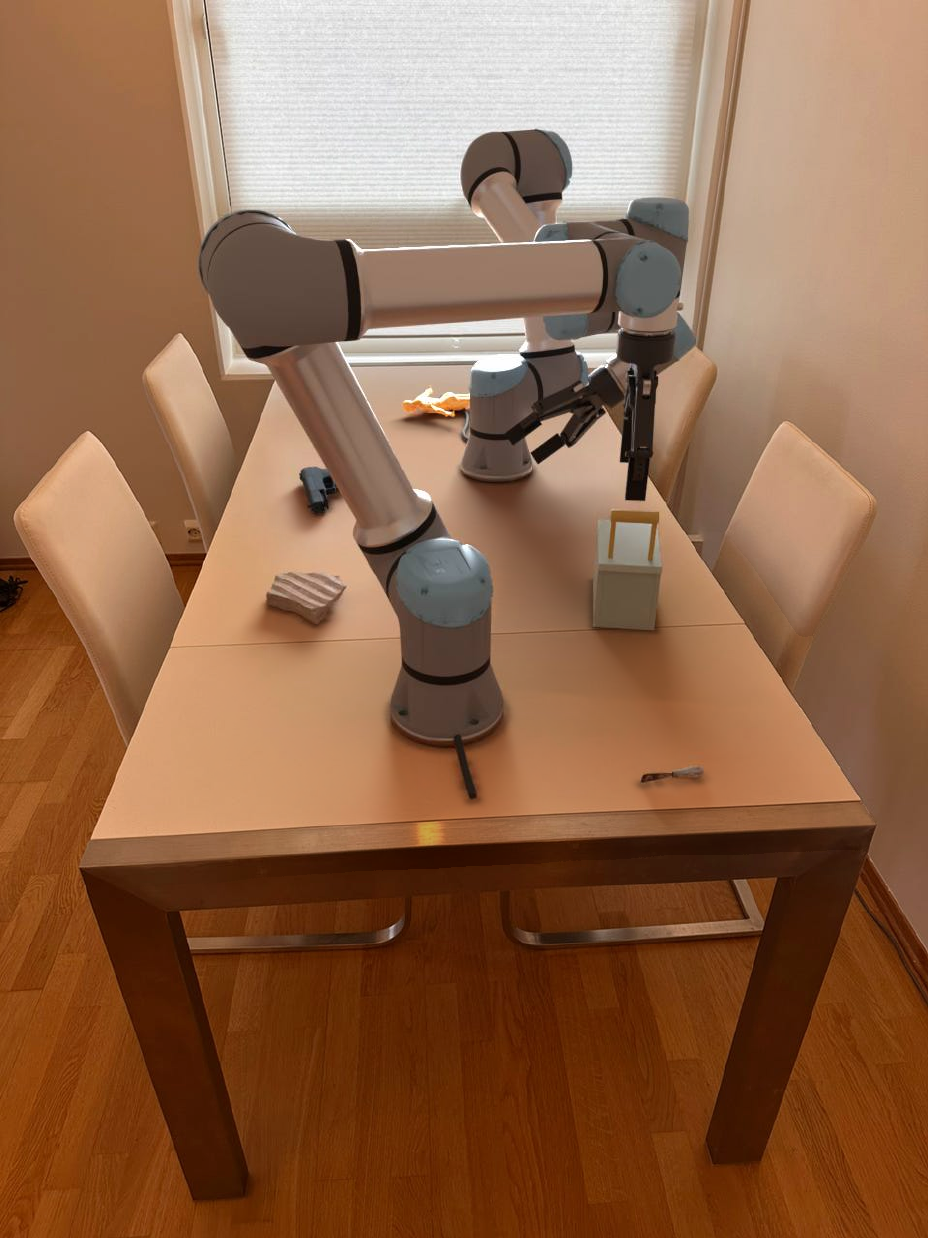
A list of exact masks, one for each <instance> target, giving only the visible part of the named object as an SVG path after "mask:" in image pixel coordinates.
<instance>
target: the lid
mask: <svg viewBox="0 0 928 1238" xmlns="http://www.w3.org/2000/svg"><path fill="white" fill-rule="evenodd" d="M659 522H660V511H657V510H656V511H655V510H637V509H636V510H635V509H634V510H633V509H613V508H611V509H610V516H609V519H602V518H599V519H598V521H597V530H598V570H599V571H615V572H633V573H652V574H661V575H662V574H663V568H664V565H663V560H662V559H663V558H662V552H661V544H660V538H659V537H660V536H659V530H658V525H659Z"/></svg>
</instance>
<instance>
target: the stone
mask: <svg viewBox="0 0 928 1238" xmlns="http://www.w3.org/2000/svg"><path fill="white" fill-rule="evenodd" d="M346 589H347V585H346V583H345V582H343V580H341V579H340V575H332V574H329V573H326V572H320V571H318V572H315V571H314V572H308V573H306V572H300V571H289V572H287V573H281V572H279V573H277V574H275V576H274V579H273V581H272V584H271V587H270V590H268V591H267V592H266V594H265V597H266V600H265V604H266V605H267V606H268V605H269V606H271V607H275V608H278V609H281V610H282V611H289V612H292V613H296V614H297V615H299V616H301V617H302V618H304V619H305V620H307V621H309V622H311V623H312V624H315V625H319V624H320V622H321V621H323V620H324V619H325V618H326V615H327V612H328V611H329V609H330V607H332V606H333V605H334V603H335V602H336V601H338V600H339V599H340V598H341V596H342V595H343V593H344V591H345V590H346Z"/></svg>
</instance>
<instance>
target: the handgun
mask: <svg viewBox="0 0 928 1238" xmlns="http://www.w3.org/2000/svg"><path fill="white" fill-rule="evenodd" d="M298 475H299V480H300V481H301V482H302V485H303V488H304V493H305V495H306V499H307V500H308V505H306V508H308V509H310V510H311V512H312V514H314V515H322V514H324V513H325V508H326V509H327V511H328V510H329V509H330V507H329V506H330V505H329V498H328V496H332V495H335V494H336V492H337V491H336V488H337V489H338V487H337V486H336V484H335V482H334V481H333V479H332V477H331V475H330V474H329V472H328V470H327V469H326V467H325V468H320V467H318V466H308V467H303V468H302V469H301V470H300V472H298Z"/></svg>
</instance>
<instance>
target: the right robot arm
mask: <svg viewBox="0 0 928 1238" xmlns="http://www.w3.org/2000/svg"><path fill="white" fill-rule="evenodd" d="M459 164H460V165H459V170H458V171H459V173H458V175H459V177H458V178H459V179H458V180H459V186H460V189H461V192H462V196H463V198H464V200H465V201H466V204H467V205H468V206H469V208H470V210H471V211H472V212H473V214H474V215H476V217H478V218H484V220H485V221H486V223H487V225H489V227H490V229H491V230H492V231H493V233H494V234H495V236H496V237H497V238H498V240H499V242H500V244H508V243H530V242H534V239H535V236H536V234H537V232H538V230H539V229H540V228H541V227H543V226H544V225H547V224H556V223H558V221H557V210H558V209H559V207H560V206H561V205H562V203H563V200H564V199H563V192H565V191H566V190H567V189H568V187H569V186H570V184H571V181H570V179H572V177H573V159H572V155H571V151H570V148H569V146H568V145H567V143H566V141H565V140H564V139H563V137H561V135H560V134H558V133H557V132H556V131H553V130H550V129H538V128H534V129H521V130H520V129H519V130H508V131H489V132H485V133H483V134H481V135H479V136H478V137H476V138H475V139H473V140H472V141H471V142H470V144H469V145H468V146H467V147H466V149H465V150H464V152H463V155H462V157H461V161H460V163H459ZM677 314H678V317H677V325H676V327H675V328H674V329H672V330H673V331H674V333H675V334H676V337H675V346H674V354H673V358H672V360H671V361H669V362H668V363H665V364H659V365H656V366H655V367H654V370H655V371H657V375H656V376H659V374H661V373H662V372H664V371H665V370H667V369H668V368H670V367H671V366H672V365H674V364H675V363H677V362H679V361H680V360H681V359H682V358H683V357H685V356H686V355H687V354H688V353H689V352H691V350H693V349H694V348H695V347H696V345H697V338H696V336H695V334H694V332H693V330H692V329H691V327H690V326H689V324H688V322H687V321H686V320H685V319H684V317H683V316H682V315H681V313H680V312H679V311H677ZM618 318H619V312H603V313H583V314H569V315H556V316H542V317H528V318H523V326H524V335H525V336H524V337H525V342H524V343H523V345H522V346H521V347H520V349H519V354H512V353H505V354H493V355H490V356H487V357H484V358H482V359H480V360H478V361H477V362H476V363H474V364H473V365H472V366H471V367H472V368H471V369H470V374H469V384H468V391H469V392H468V393H470V406H469V412H468V410H467V408H464V409H462V410H461V411H463V413H464V414H465V423H464V426H463V429H462V431H461V435H462V437H463V439H465V440H466V441H467V442H466V444H465V448H464V451H463V454H462V457H461V462H460V464H461V465H460V466H461V471H462V474H464V475H465V476H466V477H469V478H471V479H473V480H475V481H476V480H477V481H479V482H480V481H481V482H487V483H507V482H508V483H509V482H514V481H518V480H521V479H524V478H525V477H527V476H528V475H530V474H531V472H532V470H533V460H534V461H535V464H537V465H540V464H541V463H542V462H544V461H545V460H547V459H548V458H549V457H551V456H552V455H554V454H555V453H557V452H558V451H559V450H561V449H562V448H563V447H564V446H567V448H568V449H570V448H572V447H574V446H575V445H576V444H577V443H578V442H579V441H580V440H581V439H582V438H583V437H584V436H585V434H586V433H587V432H588V431H589V430H590V429H591V428H592V427H593V425H595V423H596V422H597V421H598V420H599V419H601V418H602V417H603V416H604V415H605V414H606V413H607V411H606V409H605V408H604V405H605V407H606V408H607V409H608V410H610V409H611V410H612V409H613V408H615V407H616V406H618V405H620V403H621V402H624V400H625V393H626V383H627V382H626V373H627V370H629V365H630V364H628V363H625V362H623V361H621V360H619V359H618V358H617V356H616V354H614V355H613V356H611V357H610V358H609V359H607V360H606V362H605V364H606V365H600V366H597V368H595V369H594V370H593V371H591V373H590V371H589V366H588V363H587V361H585V357H584V356H583V354H582V353H581V352H579V351H577V350H576V345H575V342H574V341H576V340H579V339H582V338H587V337H591V336H596V335H602V334H608V333H614V332H618V331H619V330H620V329H621V328H622V327H621V326H619V324H618ZM443 395H444V394H441V395H440V398H441V397H442V396H443ZM568 413H570V414H572V416H571V417H570V418H569V420H568V421H567V423H566V425H565V426H564V427H563V428H562V430H561V431H560V434H559V433H558V432H556V433H554V435H553V436H551V437H550V438H549V439H547V440H546V441H544V442H543V443H542V444H540V445H538V447H535V449H533V450H532V451H531V452H530V449H529V445H528V442H527V439H526V437H527V436H529V435H530V434H531V433H532V432H534V431H535V430H537V429H538V428H540V427H541V426H542V425H543V423H542V422H545V421H547V420H550V419H553V418H557V417H559V416H562V415H566V414H568ZM468 427H469V436H467V435H466V431H467V429H468Z"/></svg>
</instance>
